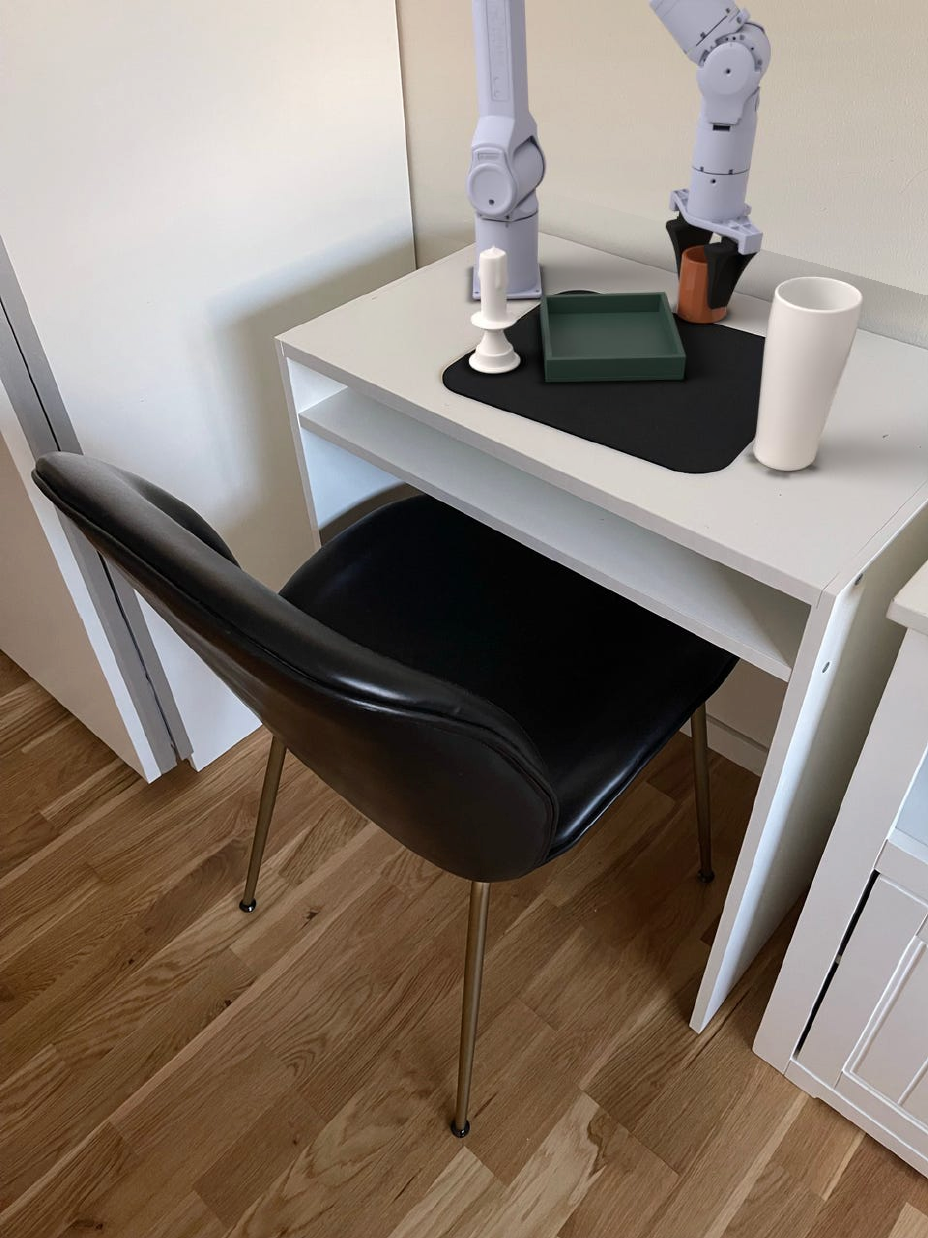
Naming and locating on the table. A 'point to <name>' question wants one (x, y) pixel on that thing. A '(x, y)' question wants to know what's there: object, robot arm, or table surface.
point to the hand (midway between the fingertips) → (703, 296)
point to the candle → (494, 316)
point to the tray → (610, 338)
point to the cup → (695, 289)
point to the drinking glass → (803, 367)
